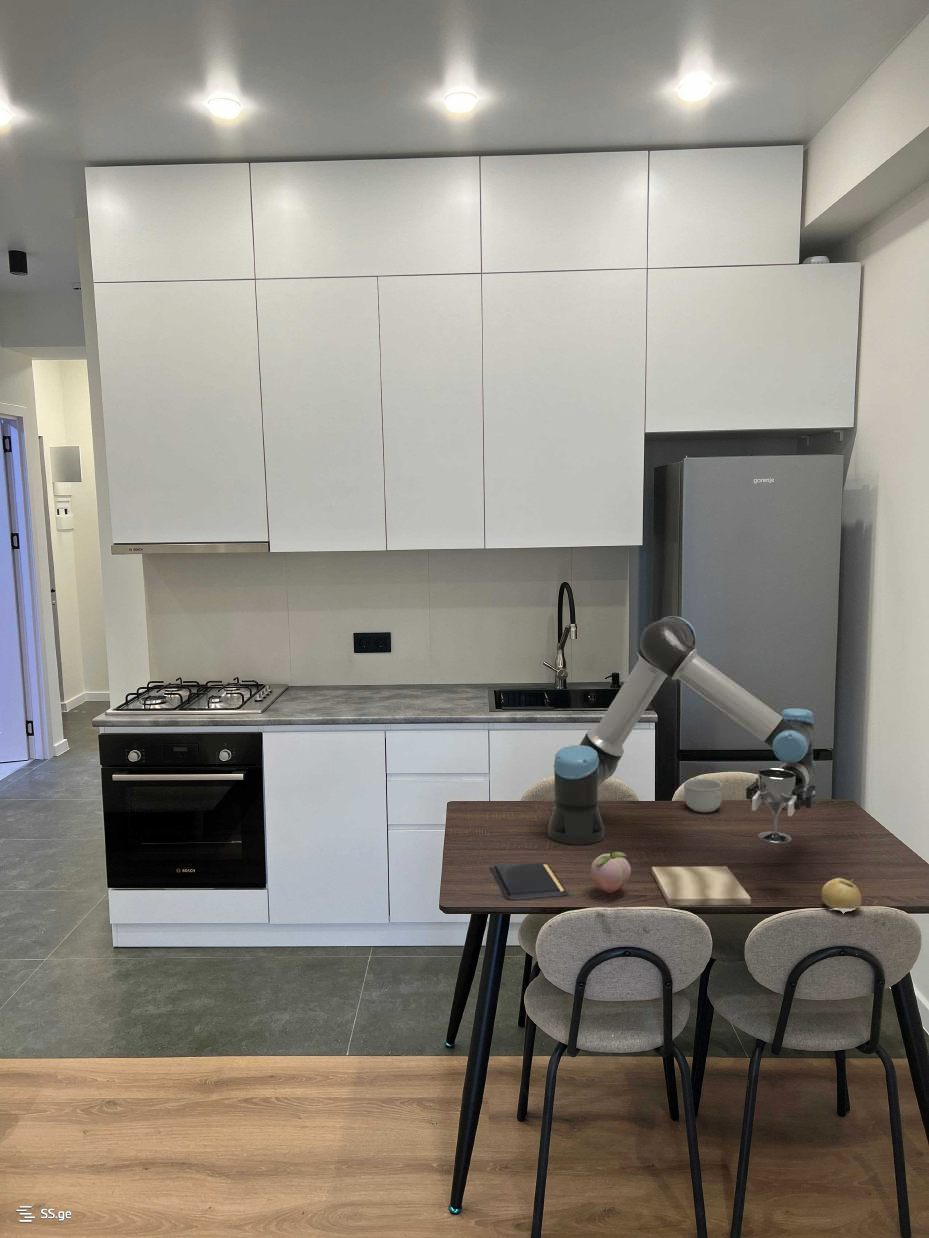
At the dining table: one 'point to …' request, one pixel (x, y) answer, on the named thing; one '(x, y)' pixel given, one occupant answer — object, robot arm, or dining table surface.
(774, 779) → the wine glass
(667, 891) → the board
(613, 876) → the decorative fruit
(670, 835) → the dining table surface
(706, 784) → the teacup
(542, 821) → the dining table surface
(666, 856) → the dining table surface
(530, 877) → the wallet
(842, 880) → the onion
